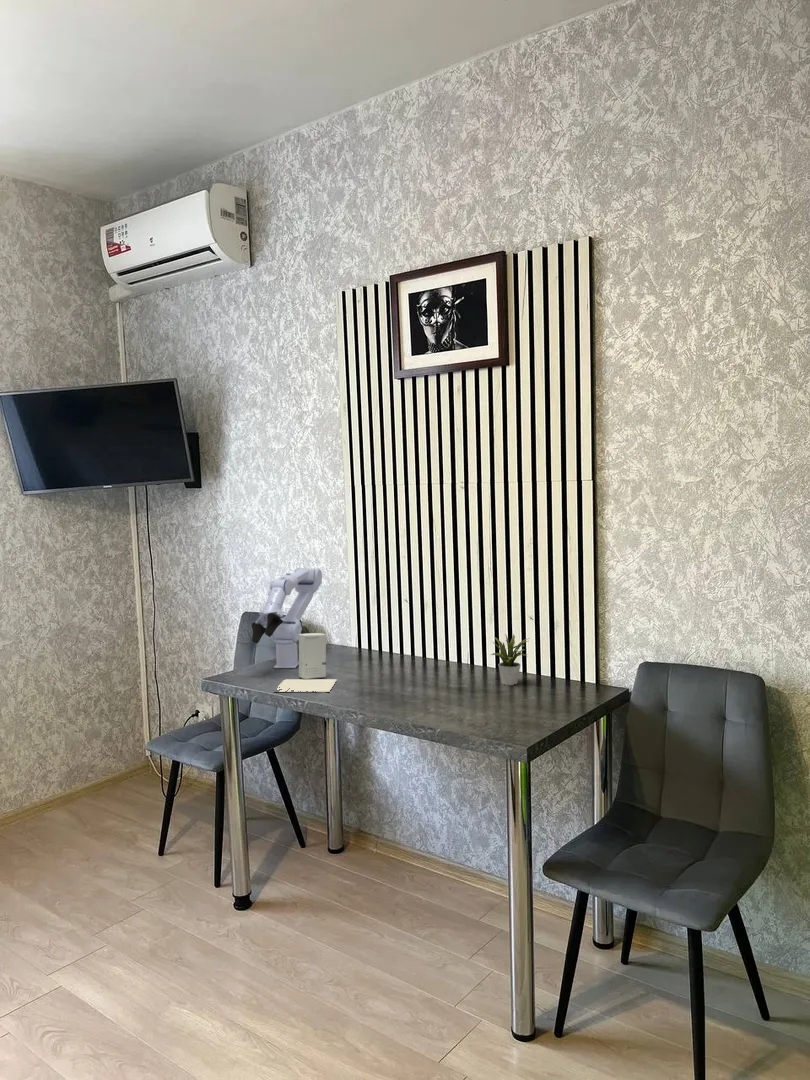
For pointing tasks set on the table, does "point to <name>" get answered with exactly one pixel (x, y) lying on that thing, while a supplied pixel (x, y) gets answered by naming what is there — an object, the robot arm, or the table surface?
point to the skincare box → (312, 655)
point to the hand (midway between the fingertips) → (261, 638)
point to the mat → (307, 685)
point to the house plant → (509, 661)
